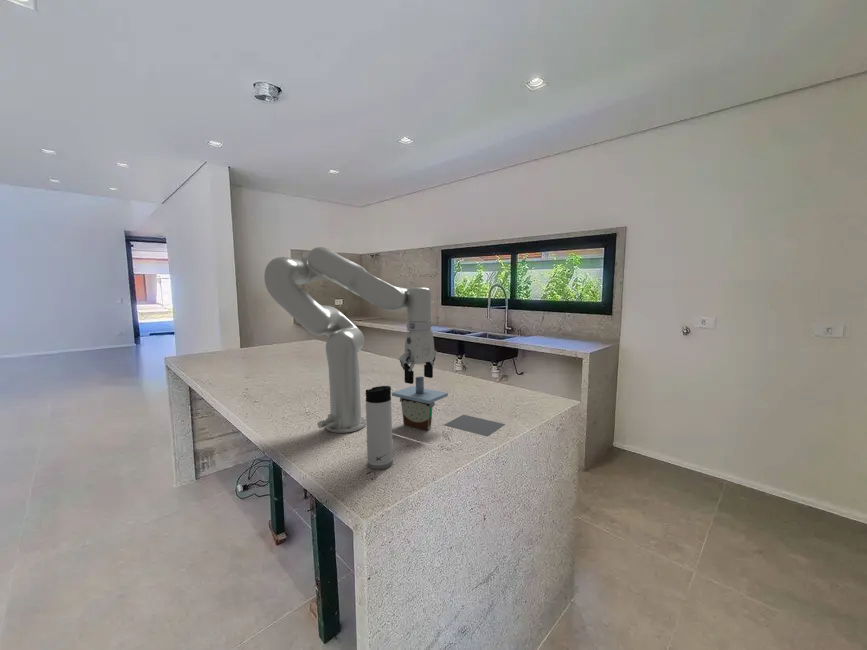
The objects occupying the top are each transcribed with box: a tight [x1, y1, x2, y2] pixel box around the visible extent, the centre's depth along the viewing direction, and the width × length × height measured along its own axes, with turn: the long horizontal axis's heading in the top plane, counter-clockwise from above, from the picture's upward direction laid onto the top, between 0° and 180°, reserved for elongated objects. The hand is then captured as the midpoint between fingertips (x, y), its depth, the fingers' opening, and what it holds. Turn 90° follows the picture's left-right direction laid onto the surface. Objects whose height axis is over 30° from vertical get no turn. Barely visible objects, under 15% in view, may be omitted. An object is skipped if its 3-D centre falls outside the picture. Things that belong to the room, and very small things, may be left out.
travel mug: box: [365, 385, 394, 471], centre depth 89 cm, size 6×7×20 cm
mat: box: [443, 414, 506, 437], centre depth 115 cm, size 12×16×1 cm
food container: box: [399, 397, 436, 432], centre depth 115 cm, size 12×6×10 cm, turn 58°
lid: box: [391, 376, 449, 404], centre depth 114 cm, size 10×15×6 cm, turn 53°
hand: (419, 380), depth 114 cm, fingers open, 9 cm apart
